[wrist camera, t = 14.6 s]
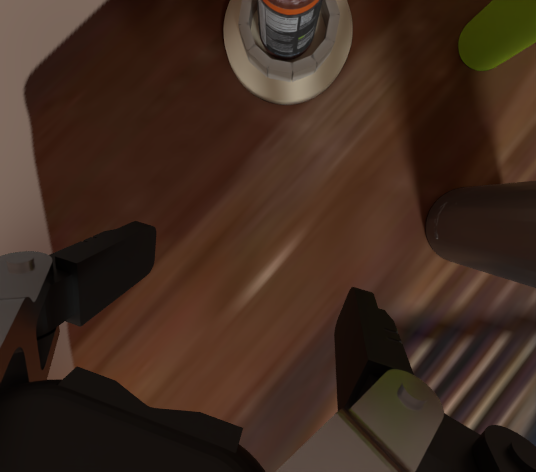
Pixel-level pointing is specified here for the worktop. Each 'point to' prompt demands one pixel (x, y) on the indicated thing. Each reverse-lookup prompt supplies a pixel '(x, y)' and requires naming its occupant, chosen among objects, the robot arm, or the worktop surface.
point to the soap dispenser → (498, 33)
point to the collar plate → (287, 71)
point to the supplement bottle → (287, 26)
